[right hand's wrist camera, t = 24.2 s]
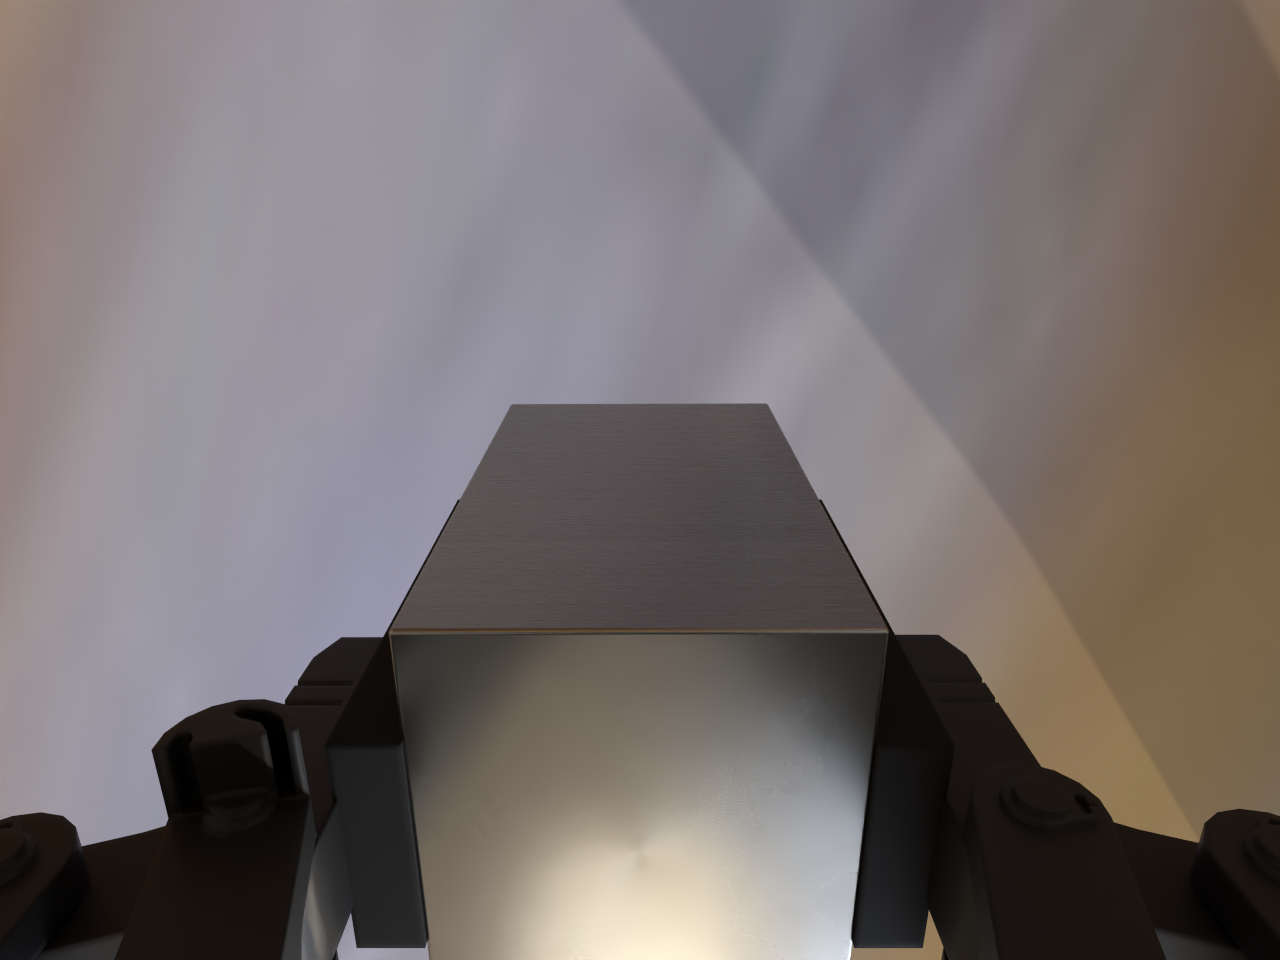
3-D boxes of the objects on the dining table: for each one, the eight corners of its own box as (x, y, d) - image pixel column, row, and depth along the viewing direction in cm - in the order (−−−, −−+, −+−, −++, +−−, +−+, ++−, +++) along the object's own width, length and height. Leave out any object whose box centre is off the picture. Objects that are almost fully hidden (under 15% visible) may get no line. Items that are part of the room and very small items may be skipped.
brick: (754, 655, 17) (843, 1032, 10) (525, 655, 17) (437, 1033, 10) (768, 402, 15) (891, 629, 8) (510, 403, 15) (387, 630, 8)
